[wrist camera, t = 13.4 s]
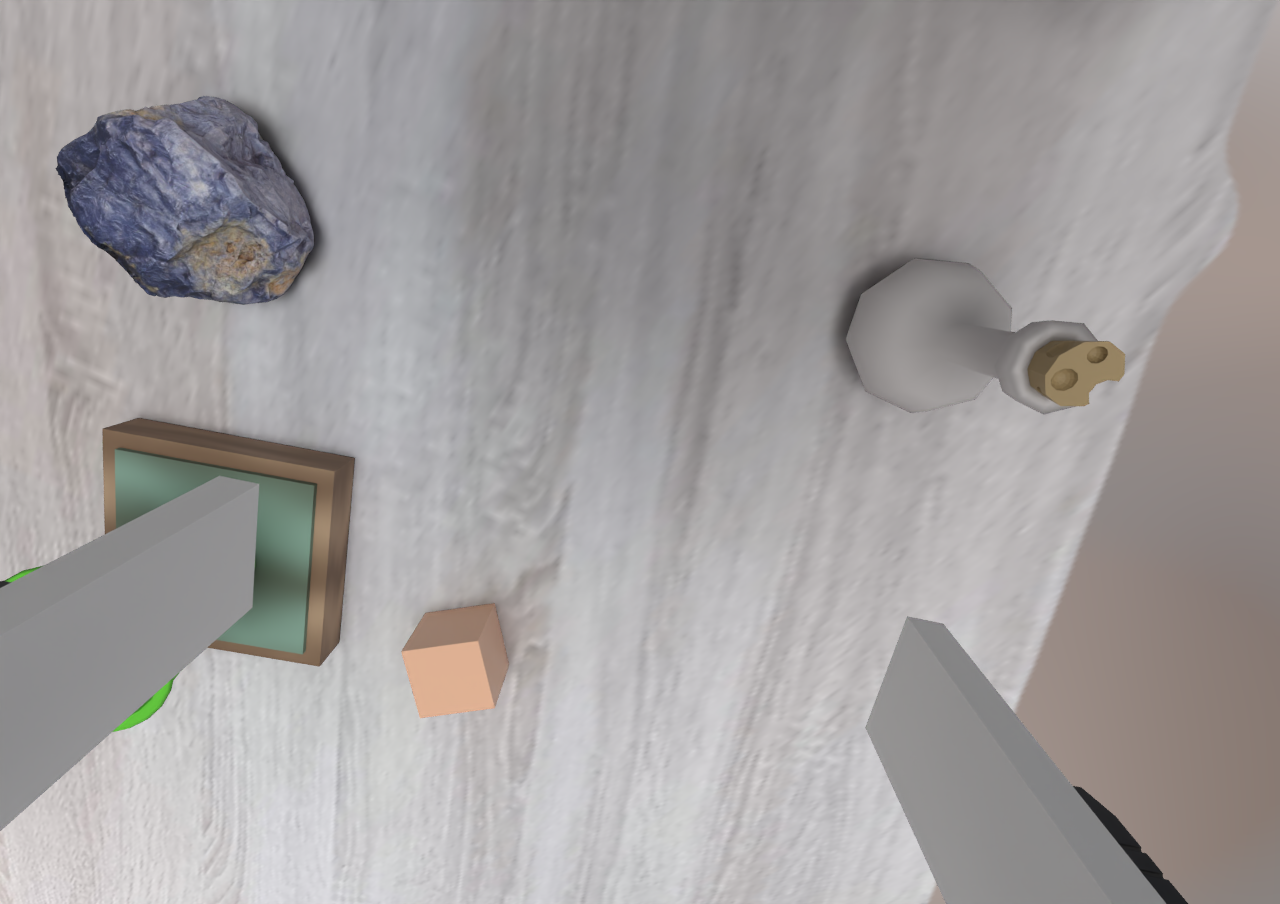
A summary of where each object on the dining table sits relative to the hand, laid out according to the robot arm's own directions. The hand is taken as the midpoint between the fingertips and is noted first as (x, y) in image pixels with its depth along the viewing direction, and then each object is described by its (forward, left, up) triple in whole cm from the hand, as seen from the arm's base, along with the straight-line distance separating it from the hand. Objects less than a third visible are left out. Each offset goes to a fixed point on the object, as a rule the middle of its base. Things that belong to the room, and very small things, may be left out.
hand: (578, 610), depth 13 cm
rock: (-5, -24, -30) cm, 39 cm away
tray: (+16, -23, -30) cm, 41 cm away
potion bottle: (-6, +17, -30) cm, 35 cm away
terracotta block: (+21, -7, -30) cm, 37 cm away
